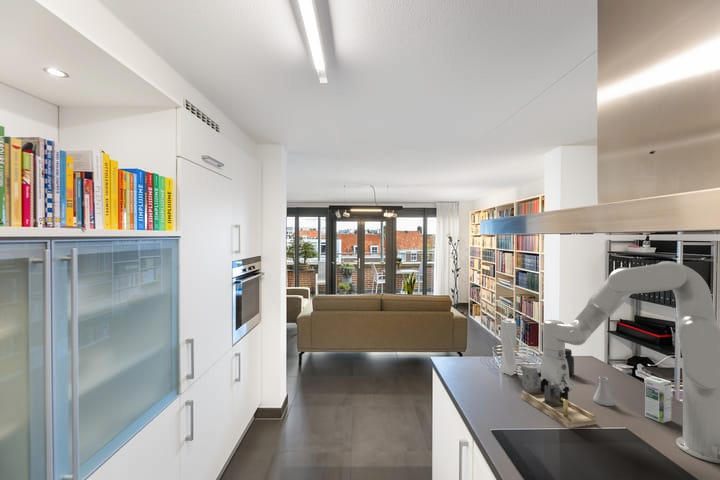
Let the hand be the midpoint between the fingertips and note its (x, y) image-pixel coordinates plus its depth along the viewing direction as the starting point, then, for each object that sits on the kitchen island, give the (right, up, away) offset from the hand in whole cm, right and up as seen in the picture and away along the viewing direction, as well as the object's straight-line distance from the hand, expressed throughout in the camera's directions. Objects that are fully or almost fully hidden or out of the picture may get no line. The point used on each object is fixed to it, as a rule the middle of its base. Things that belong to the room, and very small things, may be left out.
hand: (553, 396), depth 136 cm
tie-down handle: (0, -3, 0) cm, 3 cm away
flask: (+23, -5, +6) cm, 25 cm away
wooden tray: (0, -5, -1) cm, 5 cm away
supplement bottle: (+26, -5, +36) cm, 45 cm away
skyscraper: (-2, -5, +38) cm, 38 cm away
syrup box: (+35, -5, -7) cm, 36 cm away
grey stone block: (+3, -5, +19) cm, 20 cm away
